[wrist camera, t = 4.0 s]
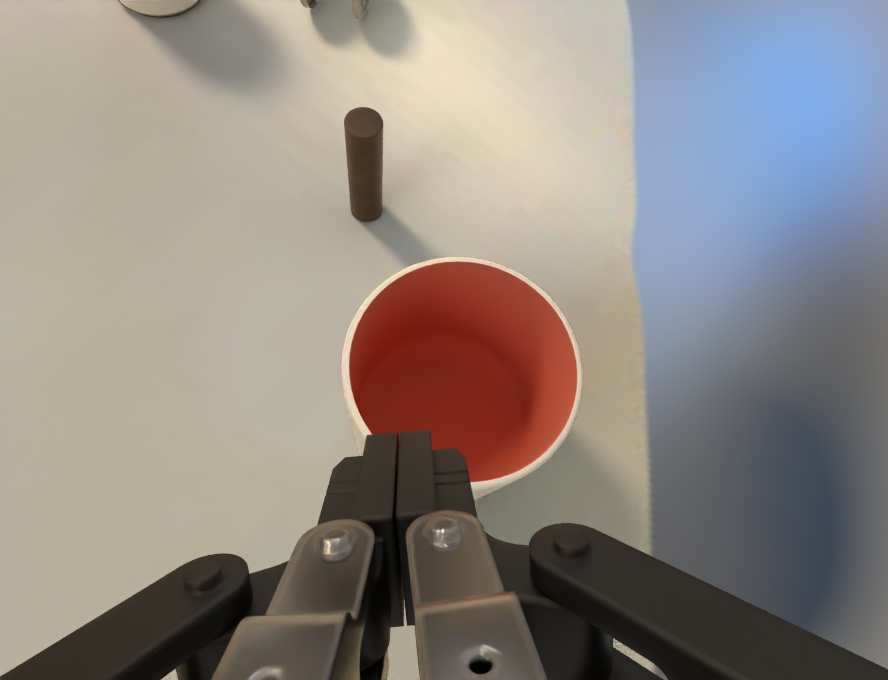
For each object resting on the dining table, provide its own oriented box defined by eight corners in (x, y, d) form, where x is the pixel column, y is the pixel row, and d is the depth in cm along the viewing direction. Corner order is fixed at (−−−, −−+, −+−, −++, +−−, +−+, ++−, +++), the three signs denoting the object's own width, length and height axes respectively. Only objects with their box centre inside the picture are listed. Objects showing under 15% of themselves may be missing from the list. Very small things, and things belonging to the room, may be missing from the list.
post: (367, 227, 36) (365, 144, 29) (344, 209, 36) (335, 122, 29) (388, 208, 37) (391, 121, 29) (365, 190, 37) (361, 100, 29)
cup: (314, 433, 31) (287, 385, 22) (422, 304, 35) (438, 215, 25) (460, 546, 30) (498, 546, 21) (556, 400, 33) (626, 344, 24)
